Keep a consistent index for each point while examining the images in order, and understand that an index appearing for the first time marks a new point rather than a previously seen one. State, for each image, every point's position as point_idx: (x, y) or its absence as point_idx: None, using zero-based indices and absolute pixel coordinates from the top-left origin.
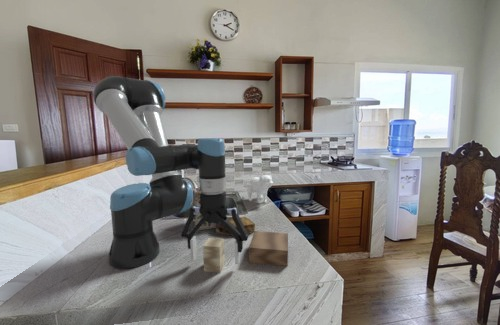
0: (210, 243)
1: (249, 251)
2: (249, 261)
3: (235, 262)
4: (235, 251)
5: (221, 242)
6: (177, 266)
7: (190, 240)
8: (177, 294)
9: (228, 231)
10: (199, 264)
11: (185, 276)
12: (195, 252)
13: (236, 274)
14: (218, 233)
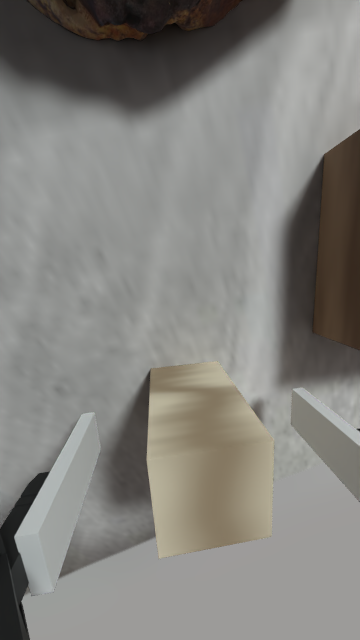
0: (195, 521)
1: (357, 348)
2: (317, 333)
3: (296, 429)
4: (338, 473)
5: (266, 487)
6: (34, 433)
7: (36, 592)
8: (131, 537)
9: (142, 16)
10: (118, 397)
11: (106, 471)
12: (88, 447)
13: (277, 412)
14: (54, 21)
